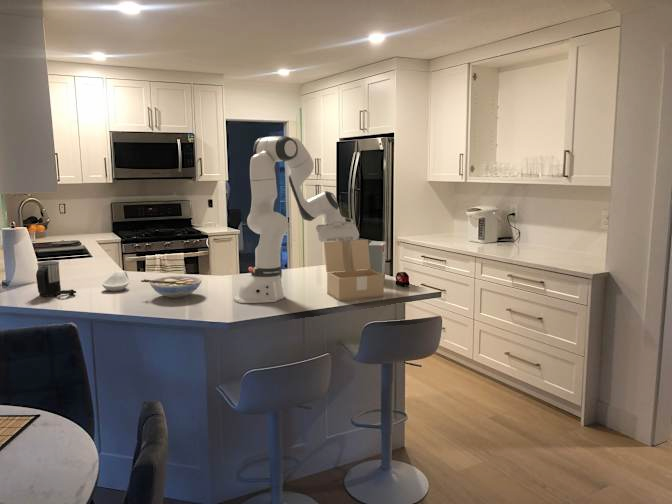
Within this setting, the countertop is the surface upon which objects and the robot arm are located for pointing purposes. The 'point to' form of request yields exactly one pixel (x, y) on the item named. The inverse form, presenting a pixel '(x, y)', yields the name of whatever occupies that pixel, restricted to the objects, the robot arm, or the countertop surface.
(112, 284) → the spoon rest
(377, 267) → the hard drive box
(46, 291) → the milk frother
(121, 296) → the countertop surface
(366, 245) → the lid
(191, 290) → the ramen bowl
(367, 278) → the cardboard box
